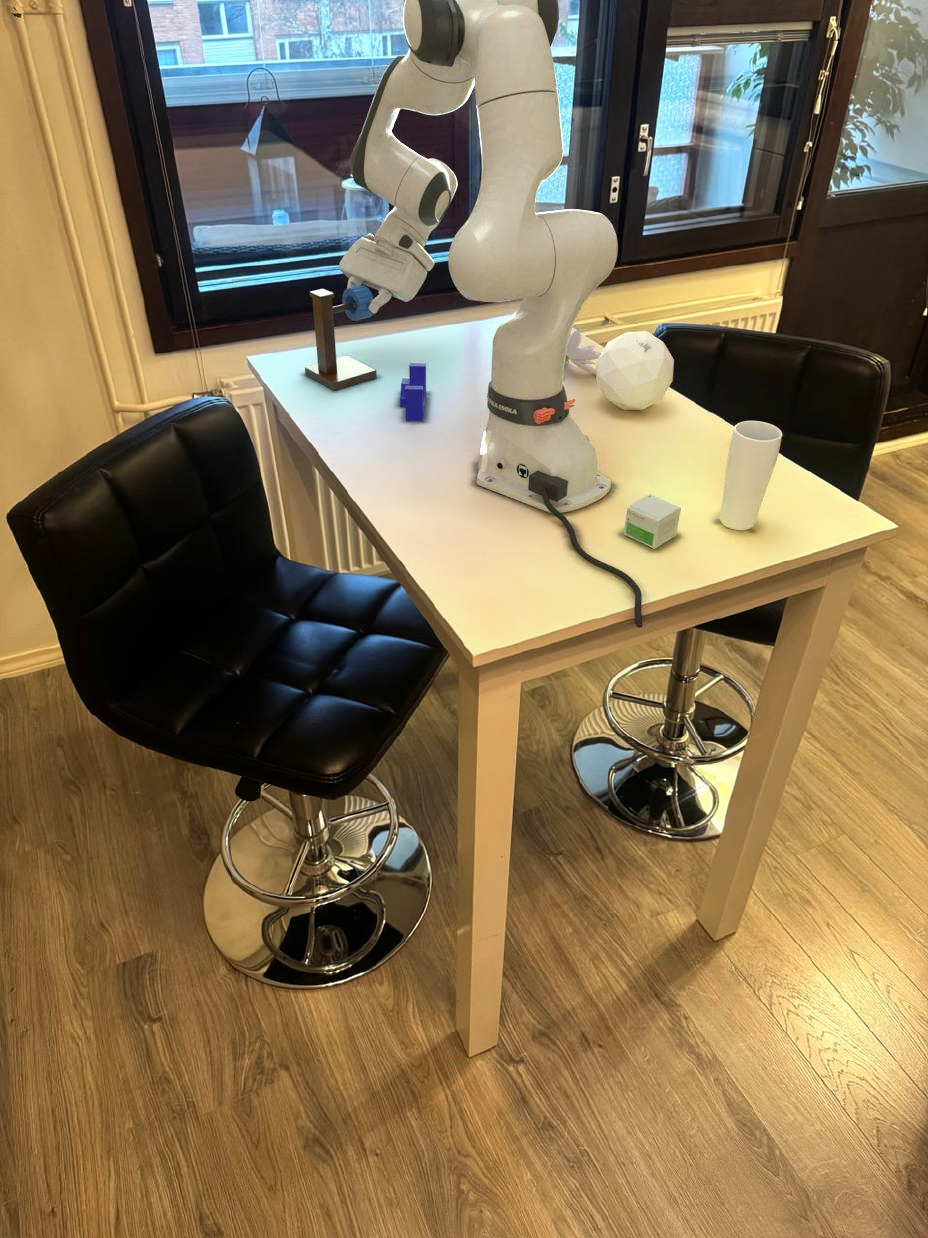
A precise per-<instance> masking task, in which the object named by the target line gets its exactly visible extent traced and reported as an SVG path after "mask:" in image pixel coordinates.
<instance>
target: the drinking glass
mask: <svg viewBox="0 0 928 1238" xmlns="http://www.w3.org/2000/svg"><path fill="white" fill-rule="evenodd" d="M782 438H783V432H782V430H781V429H780V428H778V427H777V426H776V425H774V424H772V423H768V422H764V421H760V420H744V421H740V422H738V423H737V424H735V425H734V427H733V430H732V434H731V438H730V442H729V445H728V451H727V457H726V467H725V473H724V474H725V475H724V481H723V482H724V483H723V484H724V485H723V490H722V497H721V498H722V499H721V506H720V511H719V515H718V517H719V521H720V523H721V524H722V525H723V526H725V527H726V528H728V529H731V530H736V531H747V530H750V529H752V528H753V527H754V526H755V525H756V523H757V520H758V515H759V512H760V509H761V507H762V503H763V500H764V498H765V494H766V492H767V489H768V487H769V483H770V480H771V478H772V475H773V473H774V470H775V466H776V464H777V461H778V457H779V453H780V448H781V445H782V444H781V443H782V440H783V439H782Z"/></svg>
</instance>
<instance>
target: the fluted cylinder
mask: <svg viewBox="0 0 928 1238" xmlns="http://www.w3.org/2000/svg"><path fill="white" fill-rule="evenodd" d="M341 297H342V299H341V301H342V305H343V304H347V303H350V302H351V301H352V300H355V301H356V305H357V310H353V309H350V310H346V311H344V313H345V314H346V315H347V318H348V319H350V320H351V321H355V322H357V321H358V322H359V321H361V320H365V319H368V318H371V317H372V316H374V313H372V312H369V311H368V310H367V309H366V305H367V304H368V302H369V300H373V299H374V298H375V297H374V296H373V292H371V291H370V288H369V287H367V285H364V284H361V285H360V286H355V287H351V288H347V287H346V289H344V290H343V294H341Z"/></svg>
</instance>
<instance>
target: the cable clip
mask: <svg viewBox="0 0 928 1238" xmlns="http://www.w3.org/2000/svg"><path fill="white" fill-rule="evenodd" d="M408 368H409V370H408V371H409V373H408V374H409V375H408V376H409V378H408V377H407V378H403V377H402V378H401V382H400V394H399V397H400V398H399V407H400V408H405V421H406V422H424V421H423V420H424V414H425V407H426V399H427V362H426V363H425V362H424V363H423V362H409V366H408Z"/></svg>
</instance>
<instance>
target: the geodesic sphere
mask: <svg viewBox="0 0 928 1238" xmlns="http://www.w3.org/2000/svg"><path fill="white" fill-rule="evenodd" d="M674 365H675V359H674V358H673V356H672V354H671V353H670V351H669V349H668V347H667V346H666V344H665V343H664V341H662V340H661V339H659V338H658V337H656V336H655V335H653V334H652V333H650V332H649V331H648V330H643V331H641V330H640V331H635V330H632V331H626V332H624V333H623V334H621V335H619V336H617V337H615V338H613V339H611V340H610V341H607V343H606V344H605V345H604V348H603V349H602V351H601V355H600V356H599V358H597V359H596V371H597V373H596V375H595V378H596V379H595V381H596V384H597V386H598V387H599V389H600V390H601V392H602V394H603V395H604V397H605V399H606V400H608V401H609V402H611V403H612V404H614V405H615V406H616V407H618V408H619V409H621V410H622V411H628V410H629V411H642V410H645V409H646V408H649V407H650V406H652V405H655V404H656V403H659V402H660V401H662V400H663V398H664V396H665V395H666V393H667V391H668V390H669V388H670V386H671V385H672V383H673V381H674V367H675V366H674Z"/></svg>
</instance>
